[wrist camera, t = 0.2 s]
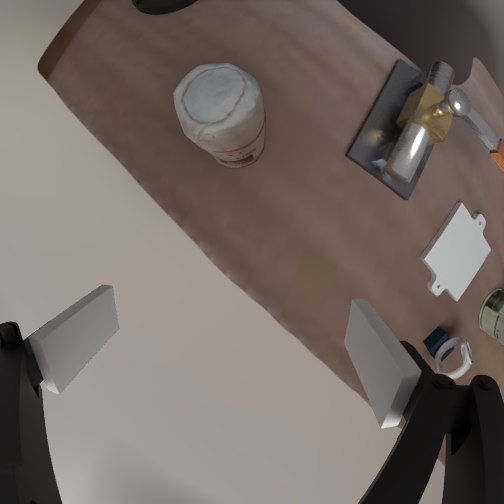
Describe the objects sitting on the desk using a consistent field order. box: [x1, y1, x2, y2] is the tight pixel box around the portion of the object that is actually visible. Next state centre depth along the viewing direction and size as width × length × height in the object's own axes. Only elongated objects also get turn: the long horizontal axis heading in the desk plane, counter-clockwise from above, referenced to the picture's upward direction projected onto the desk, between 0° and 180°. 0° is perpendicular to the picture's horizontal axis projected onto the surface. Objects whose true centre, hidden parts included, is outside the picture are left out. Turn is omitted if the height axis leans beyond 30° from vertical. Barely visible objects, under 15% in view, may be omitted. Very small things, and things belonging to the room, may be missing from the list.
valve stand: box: [346, 59, 455, 200], centre depth 31 cm, size 22×12×14 cm, turn 150°
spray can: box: [173, 63, 266, 168], centre depth 29 cm, size 8×8×20 cm
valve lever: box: [444, 88, 504, 172], centre depth 23 cm, size 17×3×2 cm, turn 60°
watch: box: [423, 326, 472, 380], centre depth 39 cm, size 6×8×11 cm
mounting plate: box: [420, 202, 491, 301], centre depth 41 cm, size 18×13×2 cm
